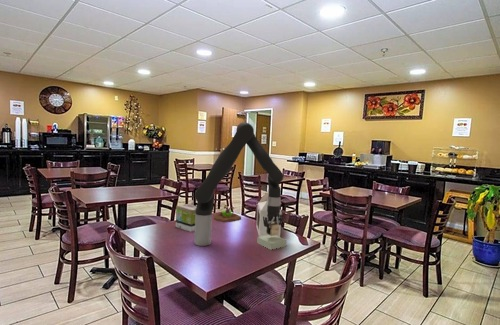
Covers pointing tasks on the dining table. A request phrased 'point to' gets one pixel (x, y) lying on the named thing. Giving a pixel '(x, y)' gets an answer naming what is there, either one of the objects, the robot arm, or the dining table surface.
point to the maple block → (274, 229)
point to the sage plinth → (271, 241)
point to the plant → (227, 216)
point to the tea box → (186, 217)
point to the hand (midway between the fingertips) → (272, 232)
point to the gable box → (263, 213)
